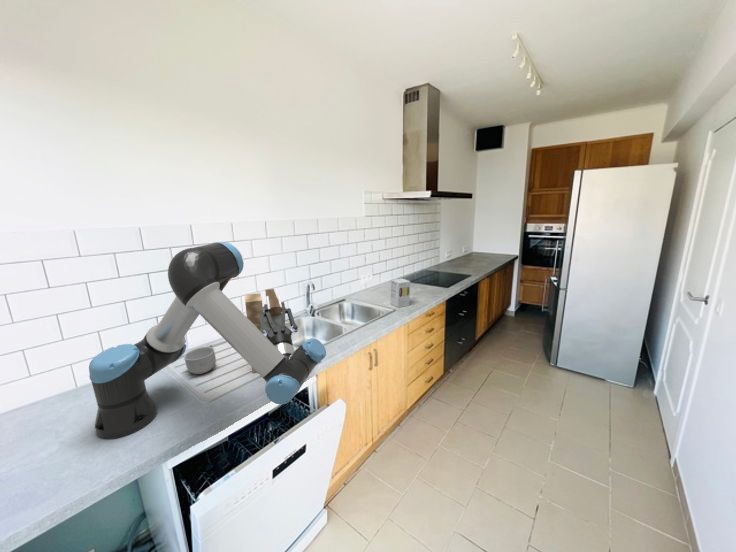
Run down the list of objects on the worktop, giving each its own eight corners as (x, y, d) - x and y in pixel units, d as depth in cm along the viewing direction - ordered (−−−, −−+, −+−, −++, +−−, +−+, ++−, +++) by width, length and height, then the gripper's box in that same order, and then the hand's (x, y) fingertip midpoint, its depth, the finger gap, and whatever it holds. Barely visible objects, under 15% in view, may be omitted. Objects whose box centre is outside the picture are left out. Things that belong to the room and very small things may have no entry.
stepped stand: (252, 373, 119) (245, 302, 112) (251, 361, 128) (244, 294, 121) (285, 366, 124) (280, 298, 117) (282, 355, 133) (277, 291, 126)
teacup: (204, 379, 115) (201, 360, 113) (180, 375, 117) (176, 357, 115) (227, 360, 129) (225, 343, 127) (205, 357, 131) (203, 341, 129)
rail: (271, 316, 108) (270, 307, 108) (265, 297, 130) (265, 289, 129) (281, 315, 110) (280, 306, 109) (274, 296, 131) (273, 288, 130)
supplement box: (397, 308, 193) (398, 282, 189) (389, 303, 201) (390, 279, 196) (409, 305, 197) (410, 281, 193) (401, 301, 205) (402, 277, 201)
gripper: (256, 359, 99) (250, 307, 115) (305, 350, 106) (294, 301, 121) (254, 346, 95) (249, 293, 110) (307, 337, 101) (295, 288, 116)
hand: (273, 297), depth 115 cm, fingers closed on rail, 3 cm apart
